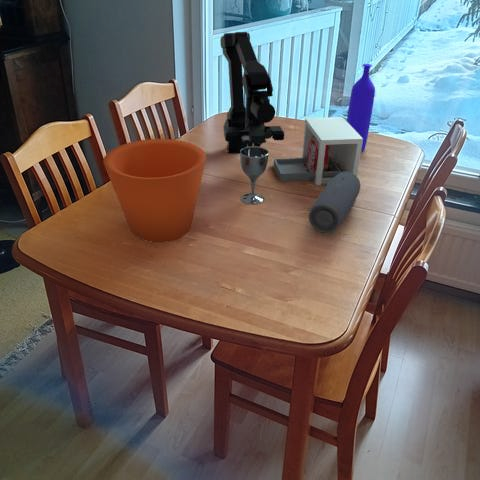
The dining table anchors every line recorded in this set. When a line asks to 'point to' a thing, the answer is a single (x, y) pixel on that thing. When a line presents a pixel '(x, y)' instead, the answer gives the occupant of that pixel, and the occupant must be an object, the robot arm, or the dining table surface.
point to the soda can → (316, 155)
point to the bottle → (361, 105)
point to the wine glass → (253, 170)
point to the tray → (301, 169)
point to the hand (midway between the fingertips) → (252, 158)
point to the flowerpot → (157, 185)
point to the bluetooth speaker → (334, 202)
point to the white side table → (333, 144)
